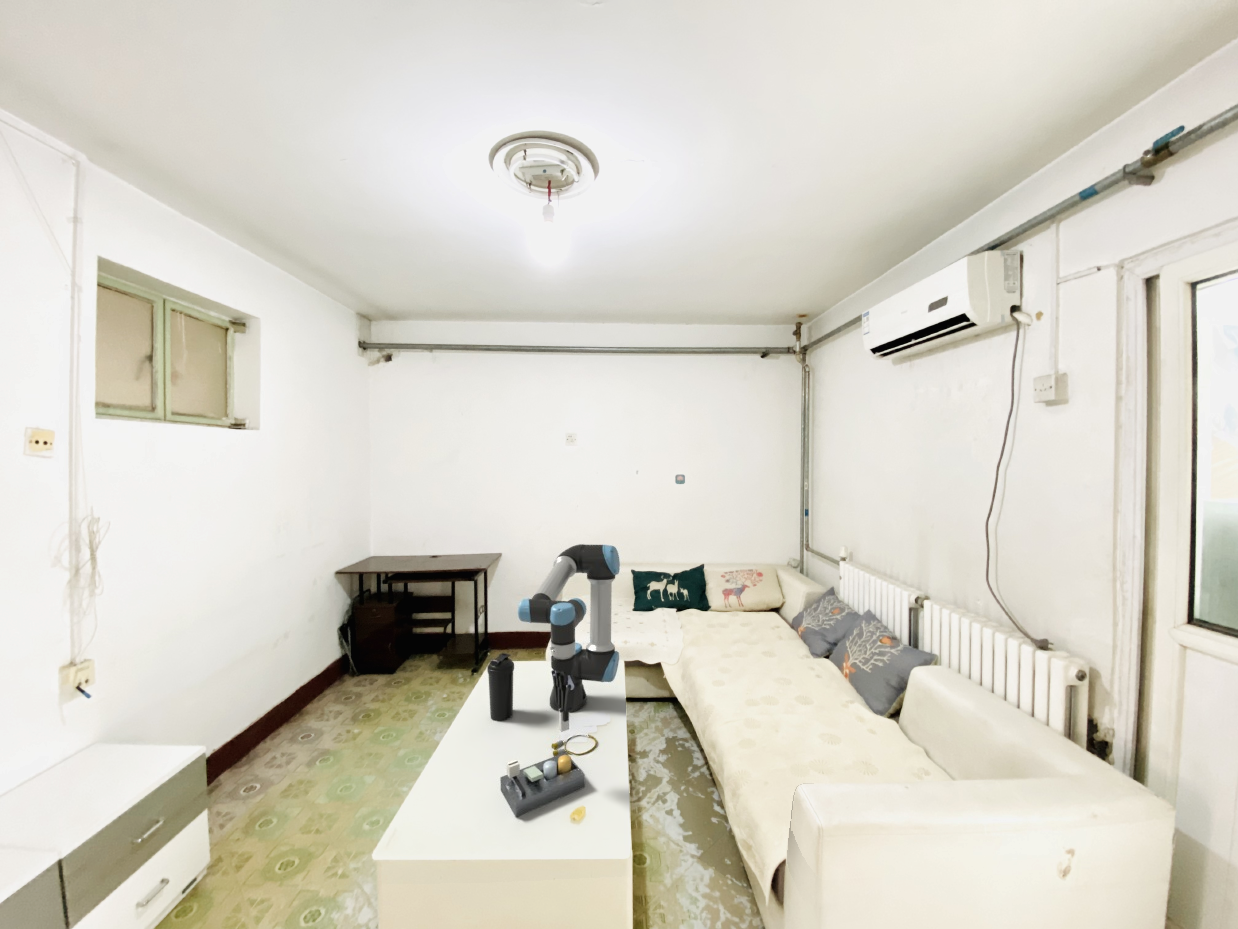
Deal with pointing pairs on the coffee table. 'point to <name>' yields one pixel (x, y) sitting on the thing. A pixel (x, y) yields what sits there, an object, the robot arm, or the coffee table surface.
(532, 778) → the panel
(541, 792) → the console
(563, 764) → the amber button
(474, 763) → the coffee table surface
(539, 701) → the coffee table surface
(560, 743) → the extension cord
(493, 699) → the water bottle
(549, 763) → the blue-grey button
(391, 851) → the coffee table surface
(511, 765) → the fader knob
